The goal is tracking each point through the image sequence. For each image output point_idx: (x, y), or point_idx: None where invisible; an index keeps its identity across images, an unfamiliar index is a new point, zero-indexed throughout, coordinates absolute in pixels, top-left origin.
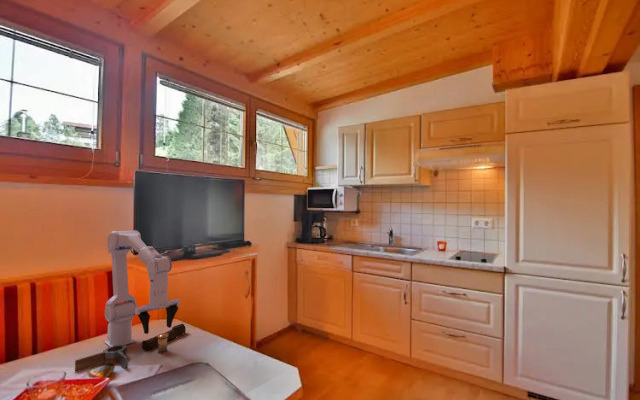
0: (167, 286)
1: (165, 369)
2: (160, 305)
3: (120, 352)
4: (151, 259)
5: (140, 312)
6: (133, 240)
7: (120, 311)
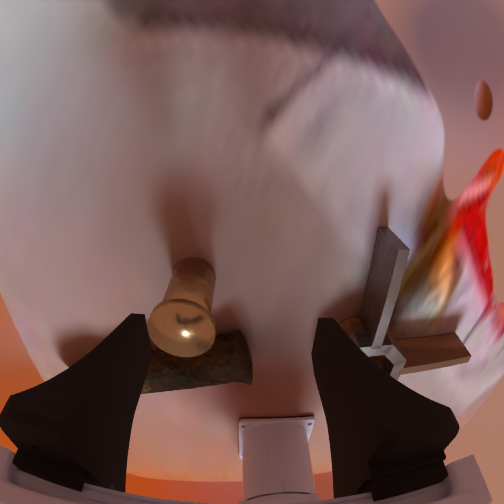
0: None
1: (275, 59)
2: None
3: (380, 329)
4: None
5: (440, 481)
6: None
7: None
